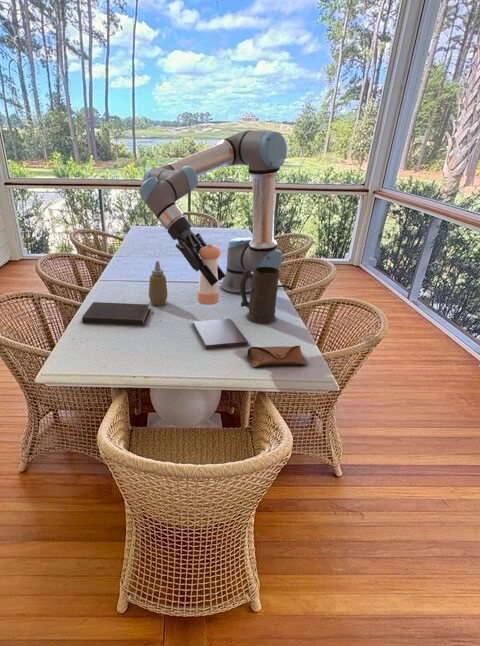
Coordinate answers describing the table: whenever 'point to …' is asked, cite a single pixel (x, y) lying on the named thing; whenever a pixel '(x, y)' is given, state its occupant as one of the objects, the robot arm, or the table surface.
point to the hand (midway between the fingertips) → (218, 280)
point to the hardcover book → (116, 313)
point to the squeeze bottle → (157, 286)
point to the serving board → (219, 333)
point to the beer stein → (261, 294)
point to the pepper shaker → (206, 291)
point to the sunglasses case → (275, 356)
